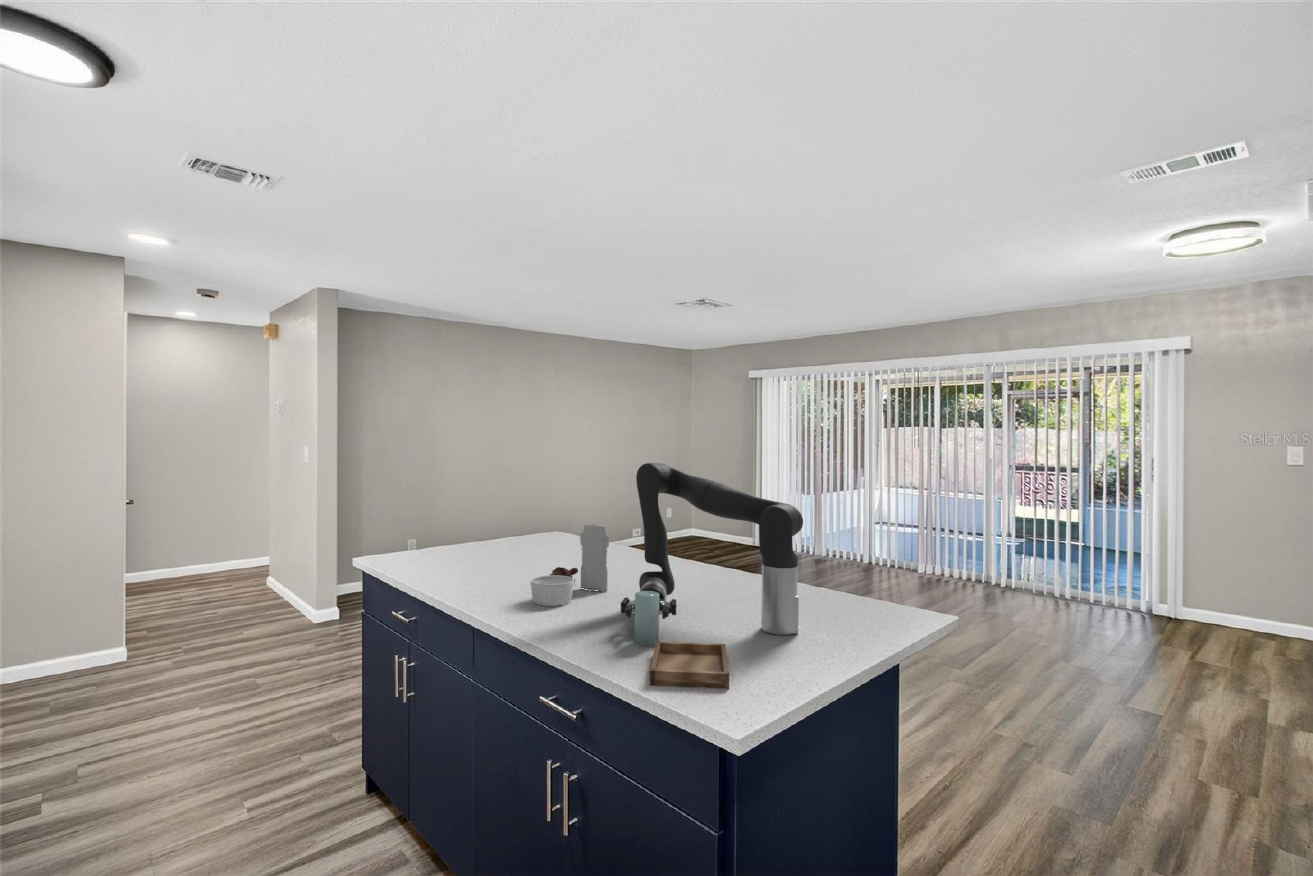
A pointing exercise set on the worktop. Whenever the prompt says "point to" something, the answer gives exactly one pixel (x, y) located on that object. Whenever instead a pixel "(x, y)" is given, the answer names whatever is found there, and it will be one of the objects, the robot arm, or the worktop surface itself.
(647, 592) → the pale blue cylinder
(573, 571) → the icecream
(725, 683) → the tray
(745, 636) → the worktop surface
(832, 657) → the worktop surface
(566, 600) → the ramekin
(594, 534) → the tall pale column
